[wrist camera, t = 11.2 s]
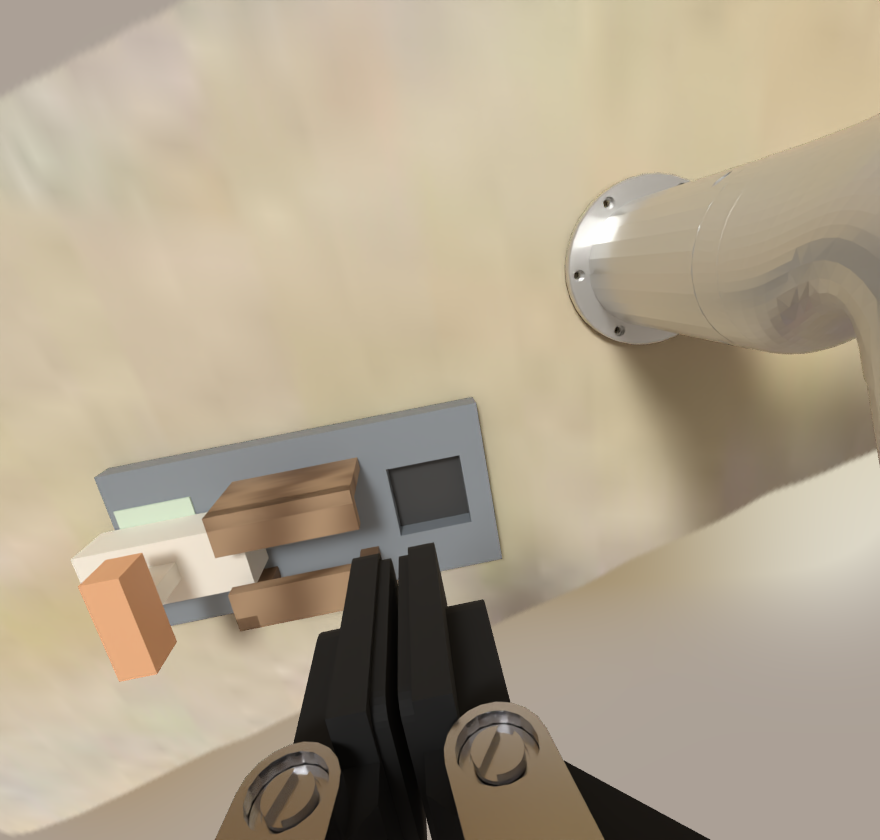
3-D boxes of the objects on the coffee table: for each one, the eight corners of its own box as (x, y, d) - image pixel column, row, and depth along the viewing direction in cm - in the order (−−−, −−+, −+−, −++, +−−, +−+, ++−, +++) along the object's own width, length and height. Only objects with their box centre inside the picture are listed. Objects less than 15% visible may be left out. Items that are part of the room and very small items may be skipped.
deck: (472, 397, 43) (476, 403, 40) (497, 546, 46) (502, 559, 44) (108, 468, 42) (92, 478, 40) (164, 614, 46) (153, 630, 44)
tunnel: (357, 457, 41) (349, 489, 35) (381, 556, 44) (377, 603, 37) (232, 481, 41) (201, 519, 35) (263, 580, 43) (240, 631, 37)
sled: (248, 491, 41) (198, 562, 31) (272, 568, 43) (232, 658, 33) (96, 521, 41) (-4, 602, 31) (127, 597, 43) (43, 697, 33)
